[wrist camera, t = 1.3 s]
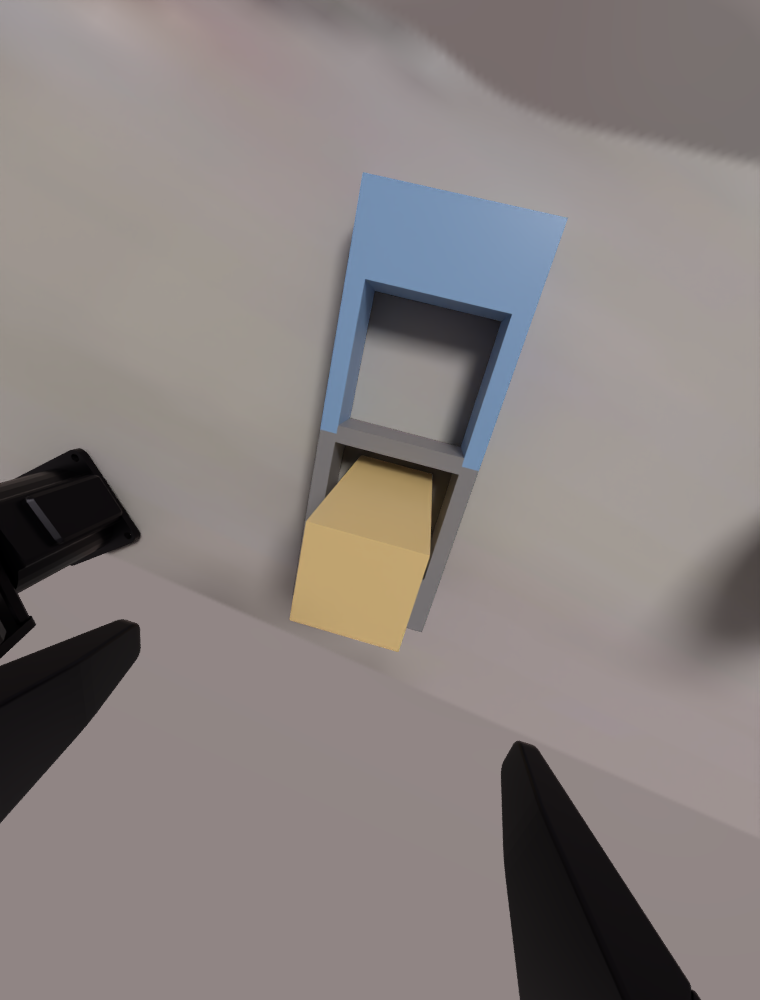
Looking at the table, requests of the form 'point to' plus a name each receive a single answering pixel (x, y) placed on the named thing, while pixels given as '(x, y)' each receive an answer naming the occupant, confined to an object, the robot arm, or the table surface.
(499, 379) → the duct block
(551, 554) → the table surface
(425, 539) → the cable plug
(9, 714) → the robot arm
